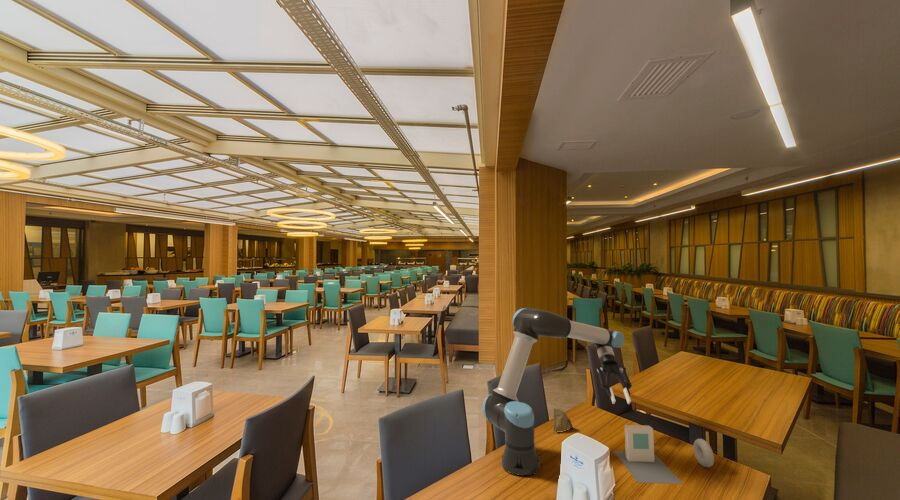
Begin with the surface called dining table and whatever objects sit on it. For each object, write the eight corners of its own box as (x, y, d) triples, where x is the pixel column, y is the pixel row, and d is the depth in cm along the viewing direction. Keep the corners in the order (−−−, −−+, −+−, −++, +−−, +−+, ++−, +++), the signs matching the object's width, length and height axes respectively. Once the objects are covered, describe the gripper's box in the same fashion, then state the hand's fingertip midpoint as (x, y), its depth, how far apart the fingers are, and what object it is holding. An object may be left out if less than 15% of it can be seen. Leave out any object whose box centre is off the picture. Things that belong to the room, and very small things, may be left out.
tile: (625, 457, 147) (624, 425, 147) (650, 457, 146) (649, 425, 147) (629, 461, 144) (627, 428, 144) (654, 461, 143) (653, 428, 144)
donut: (716, 473, 136) (715, 446, 136) (707, 472, 136) (705, 445, 136) (700, 459, 146) (699, 434, 146) (692, 458, 146) (690, 433, 146)
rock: (571, 420, 179) (551, 416, 181) (575, 410, 174) (554, 406, 176) (573, 441, 170) (552, 437, 172) (577, 432, 166) (555, 427, 167)
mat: (614, 453, 151) (614, 451, 151) (652, 453, 150) (652, 452, 150) (637, 484, 129) (637, 482, 129) (683, 485, 128) (683, 483, 128)
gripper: (624, 361, 181) (640, 406, 164) (586, 361, 182) (598, 406, 165) (628, 353, 176) (645, 399, 159) (589, 353, 177) (602, 398, 160)
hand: (621, 402), depth 162 cm, fingers open, 6 cm apart
